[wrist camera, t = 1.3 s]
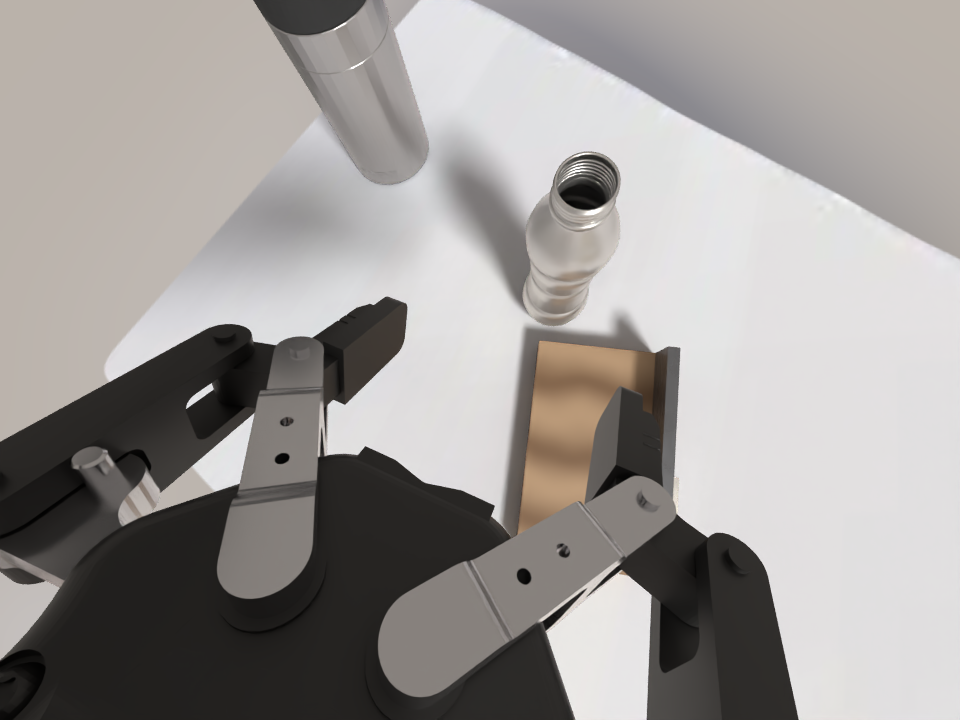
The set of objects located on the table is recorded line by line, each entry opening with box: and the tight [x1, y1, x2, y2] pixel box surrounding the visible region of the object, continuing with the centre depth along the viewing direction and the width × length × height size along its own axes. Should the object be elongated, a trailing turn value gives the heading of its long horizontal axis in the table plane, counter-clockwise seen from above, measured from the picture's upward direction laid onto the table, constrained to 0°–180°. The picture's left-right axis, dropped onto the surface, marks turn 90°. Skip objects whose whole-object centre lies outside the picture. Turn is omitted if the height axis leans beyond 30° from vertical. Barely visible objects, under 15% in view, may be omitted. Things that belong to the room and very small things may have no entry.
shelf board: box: [517, 341, 656, 575], centre depth 35 cm, size 20×12×2 cm, turn 172°
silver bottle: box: [523, 152, 620, 326], centre depth 30 cm, size 6×7×20 cm
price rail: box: [652, 347, 680, 514], centre depth 32 cm, size 20×2×3 cm, turn 172°
